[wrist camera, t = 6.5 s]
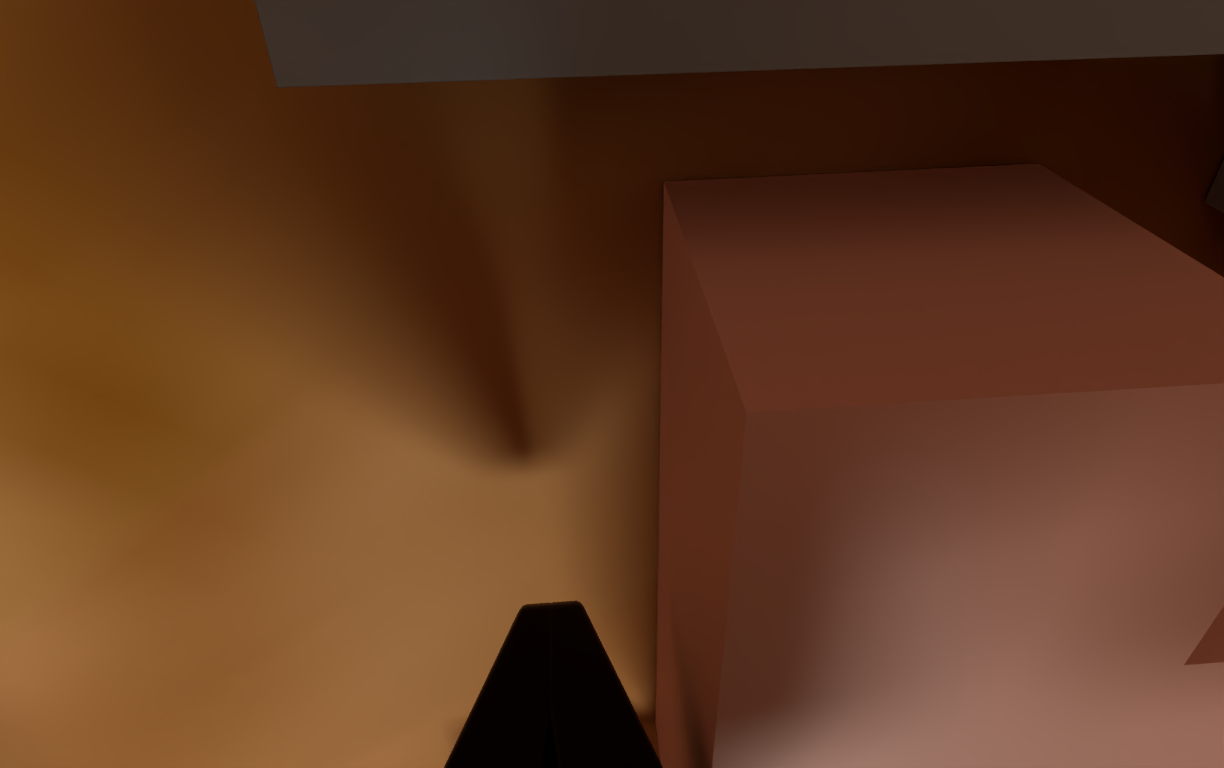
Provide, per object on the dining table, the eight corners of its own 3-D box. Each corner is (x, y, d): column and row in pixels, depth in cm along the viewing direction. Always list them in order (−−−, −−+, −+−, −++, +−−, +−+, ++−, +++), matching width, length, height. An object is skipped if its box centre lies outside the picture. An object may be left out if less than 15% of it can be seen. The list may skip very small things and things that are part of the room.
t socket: (500, 808, 15) (495, 926, 13) (316, -99, 6) (232, -85, 5) (1326, 742, 16) (1418, 846, 14) (2165, -143, 7) (2661, -144, 5)
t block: (655, 723, 14) (689, 1000, 10) (664, 181, 8) (746, 412, 5) (1244, 677, 14) (1456, 927, 11) (1656, 134, 8) (2388, 311, 5)
